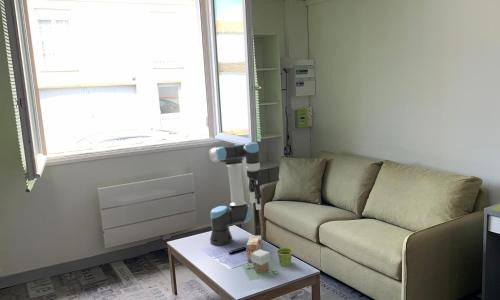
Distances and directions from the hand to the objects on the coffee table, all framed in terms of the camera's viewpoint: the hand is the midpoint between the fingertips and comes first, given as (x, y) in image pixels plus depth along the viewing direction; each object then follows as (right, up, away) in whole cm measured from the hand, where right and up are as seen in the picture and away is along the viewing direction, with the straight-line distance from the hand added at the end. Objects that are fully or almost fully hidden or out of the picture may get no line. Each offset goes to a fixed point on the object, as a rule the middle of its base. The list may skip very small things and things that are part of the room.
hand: (255, 206), depth 241 cm
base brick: (+3, -35, -6) cm, 36 cm away
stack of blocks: (0, -33, +15) cm, 36 cm away
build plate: (+3, -36, -6) cm, 37 cm away
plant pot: (+17, -34, 0) cm, 38 cm away
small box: (+3, -30, -7) cm, 31 cm away
